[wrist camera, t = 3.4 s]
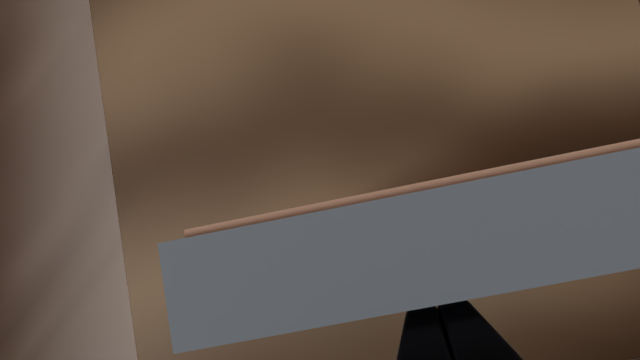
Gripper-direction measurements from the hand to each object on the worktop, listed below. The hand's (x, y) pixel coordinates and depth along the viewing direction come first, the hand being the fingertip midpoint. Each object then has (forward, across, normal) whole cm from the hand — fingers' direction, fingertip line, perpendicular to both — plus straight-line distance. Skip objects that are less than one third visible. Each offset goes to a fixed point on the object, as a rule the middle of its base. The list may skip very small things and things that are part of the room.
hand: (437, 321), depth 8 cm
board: (+8, 0, +3) cm, 9 cm away
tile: (+6, 0, +4) cm, 7 cm away
